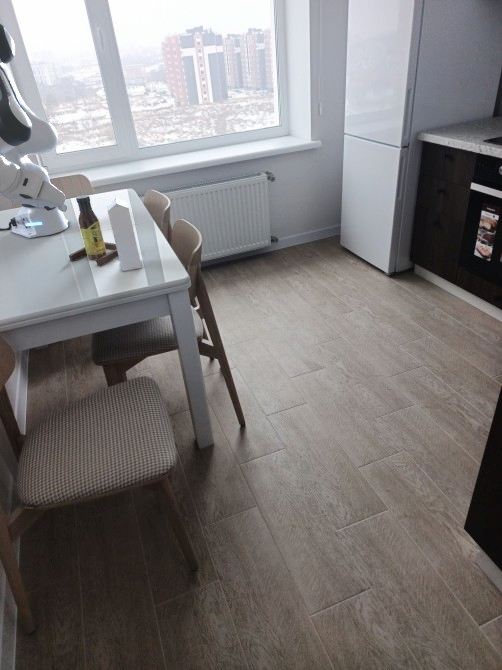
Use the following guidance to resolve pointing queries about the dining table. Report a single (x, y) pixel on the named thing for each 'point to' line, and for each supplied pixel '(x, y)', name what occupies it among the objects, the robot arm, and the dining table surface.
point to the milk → (124, 235)
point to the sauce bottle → (90, 229)
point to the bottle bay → (101, 260)
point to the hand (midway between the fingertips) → (53, 208)
